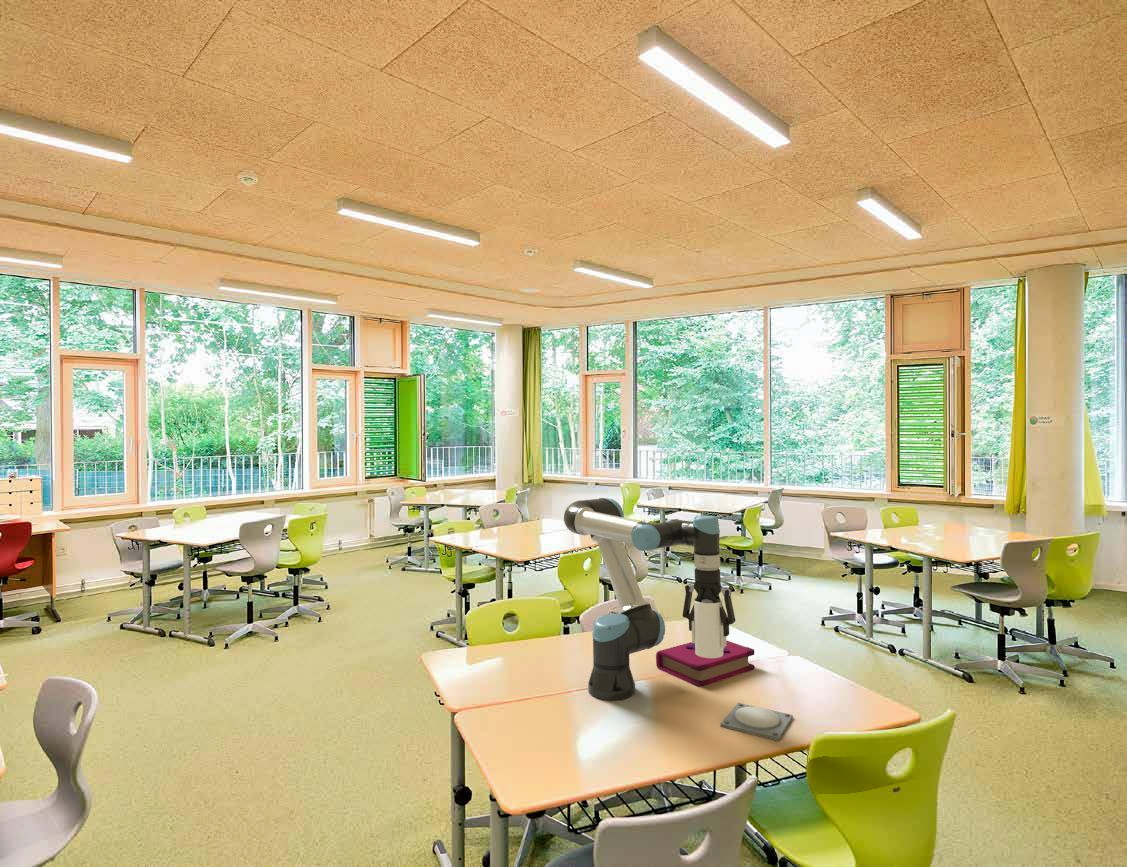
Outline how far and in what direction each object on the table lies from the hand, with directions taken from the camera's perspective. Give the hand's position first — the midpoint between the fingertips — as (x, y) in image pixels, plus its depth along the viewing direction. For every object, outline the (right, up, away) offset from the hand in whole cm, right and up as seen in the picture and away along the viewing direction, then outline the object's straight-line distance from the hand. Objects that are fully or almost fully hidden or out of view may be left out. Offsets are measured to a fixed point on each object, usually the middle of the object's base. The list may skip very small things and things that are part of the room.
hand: (709, 644), depth 187 cm
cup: (0, -3, 0) cm, 3 cm away
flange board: (+12, -19, -8) cm, 24 cm away
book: (+7, -20, +33) cm, 39 cm away
